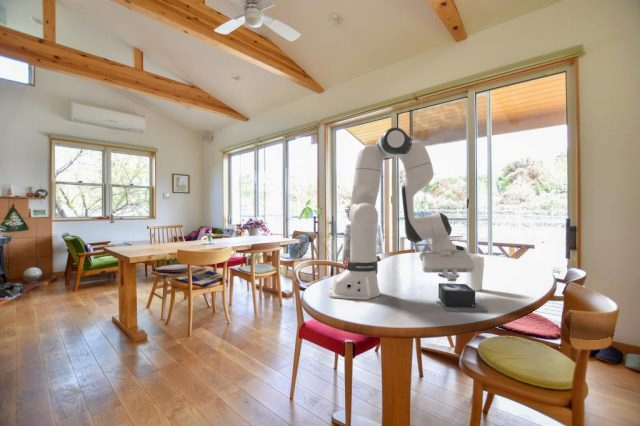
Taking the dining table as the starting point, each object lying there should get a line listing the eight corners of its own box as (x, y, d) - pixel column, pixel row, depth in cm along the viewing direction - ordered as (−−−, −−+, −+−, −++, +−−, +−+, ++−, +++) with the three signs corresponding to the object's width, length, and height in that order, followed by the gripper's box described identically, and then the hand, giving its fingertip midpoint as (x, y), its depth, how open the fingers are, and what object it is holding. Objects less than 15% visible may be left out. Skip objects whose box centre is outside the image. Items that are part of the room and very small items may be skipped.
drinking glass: (483, 292, 130) (483, 257, 130) (465, 290, 134) (465, 256, 133) (484, 288, 136) (484, 255, 136) (467, 287, 139) (467, 254, 139)
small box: (466, 282, 119) (476, 290, 109) (466, 299, 119) (476, 308, 109) (438, 282, 121) (445, 289, 110) (438, 298, 121) (445, 307, 111)
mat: (447, 312, 107) (447, 310, 107) (436, 302, 118) (436, 301, 118) (488, 312, 106) (488, 310, 106) (473, 302, 117) (473, 301, 117)
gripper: (420, 247, 127) (427, 276, 118) (469, 247, 127) (481, 276, 117) (417, 256, 132) (424, 284, 122) (465, 256, 131) (475, 284, 121)
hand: (452, 280), depth 120 cm, fingers closed
